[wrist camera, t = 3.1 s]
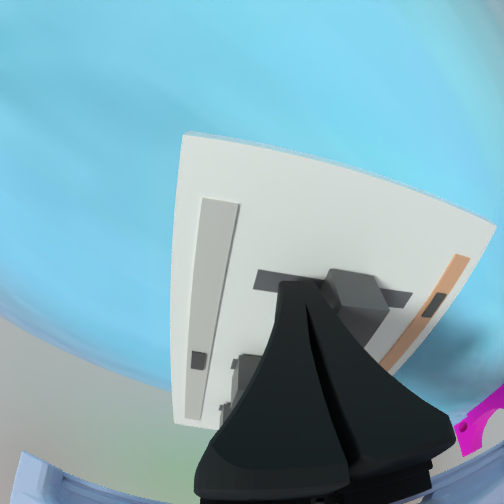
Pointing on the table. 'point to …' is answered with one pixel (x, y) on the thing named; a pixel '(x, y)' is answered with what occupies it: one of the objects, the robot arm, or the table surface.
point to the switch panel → (298, 256)
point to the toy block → (478, 422)
